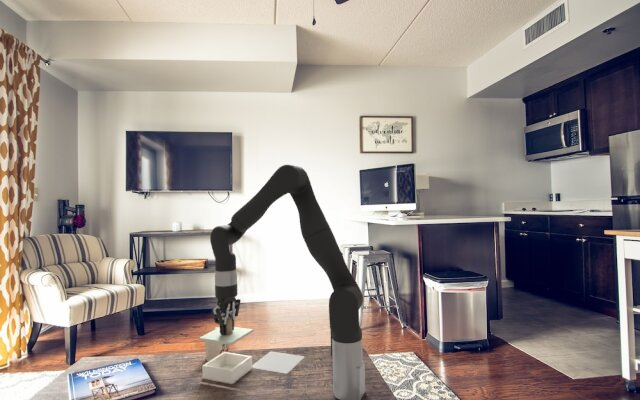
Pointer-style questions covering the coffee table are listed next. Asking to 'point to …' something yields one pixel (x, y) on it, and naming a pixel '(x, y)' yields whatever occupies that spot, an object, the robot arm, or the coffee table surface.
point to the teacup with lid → (215, 349)
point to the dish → (227, 367)
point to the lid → (230, 336)
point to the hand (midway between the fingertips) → (227, 332)
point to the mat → (278, 362)
